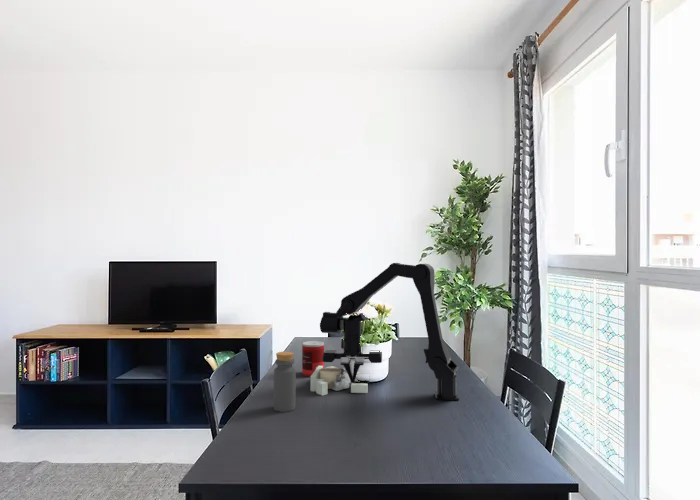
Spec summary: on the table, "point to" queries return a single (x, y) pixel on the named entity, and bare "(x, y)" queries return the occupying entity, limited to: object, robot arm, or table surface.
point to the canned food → (312, 356)
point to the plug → (329, 375)
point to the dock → (322, 386)
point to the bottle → (284, 382)
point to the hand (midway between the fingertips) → (352, 383)
